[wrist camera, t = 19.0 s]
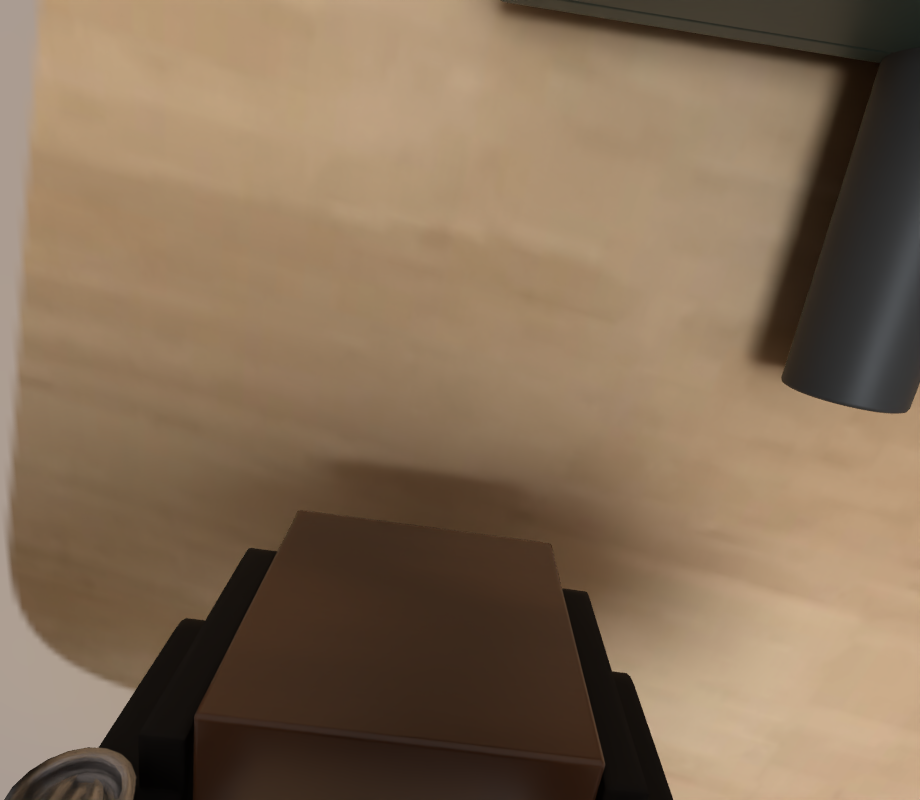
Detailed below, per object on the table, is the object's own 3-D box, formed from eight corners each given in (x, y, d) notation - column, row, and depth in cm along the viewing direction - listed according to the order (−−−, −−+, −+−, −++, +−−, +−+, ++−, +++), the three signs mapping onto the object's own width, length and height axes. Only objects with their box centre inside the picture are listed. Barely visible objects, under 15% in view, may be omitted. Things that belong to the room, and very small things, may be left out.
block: (282, 708, 12) (188, 986, 8) (297, 508, 11) (191, 715, 6) (508, 735, 12) (531, 1019, 8) (552, 541, 11) (608, 764, 7)
